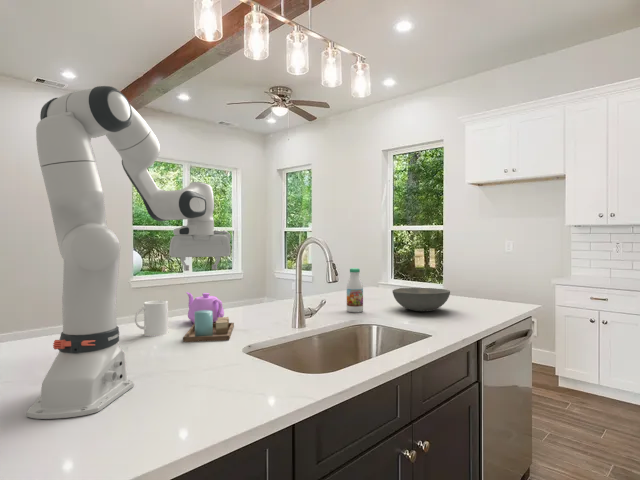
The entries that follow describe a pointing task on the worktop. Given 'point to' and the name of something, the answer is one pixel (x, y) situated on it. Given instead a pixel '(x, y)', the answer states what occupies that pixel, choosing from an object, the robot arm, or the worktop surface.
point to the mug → (154, 318)
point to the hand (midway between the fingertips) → (200, 270)
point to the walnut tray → (216, 337)
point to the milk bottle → (354, 292)
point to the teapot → (205, 306)
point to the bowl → (421, 298)
